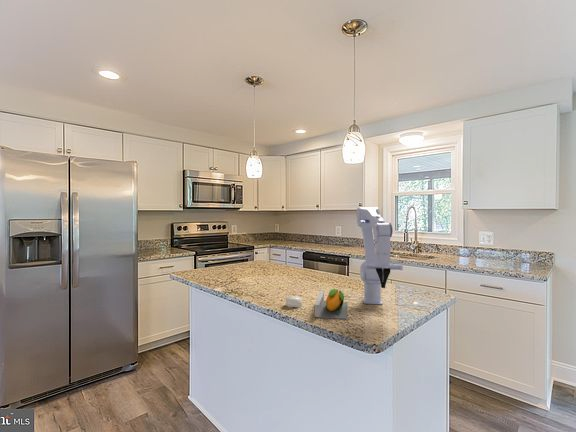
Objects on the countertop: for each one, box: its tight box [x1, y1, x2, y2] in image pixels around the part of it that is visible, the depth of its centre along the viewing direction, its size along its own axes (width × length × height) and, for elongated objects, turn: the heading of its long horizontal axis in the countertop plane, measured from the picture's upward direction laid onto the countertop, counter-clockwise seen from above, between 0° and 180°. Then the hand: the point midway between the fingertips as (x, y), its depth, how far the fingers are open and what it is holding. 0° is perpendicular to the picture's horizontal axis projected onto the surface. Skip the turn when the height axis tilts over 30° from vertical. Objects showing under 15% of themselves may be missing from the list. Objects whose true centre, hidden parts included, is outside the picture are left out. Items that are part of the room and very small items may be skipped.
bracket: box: [314, 290, 348, 321], centre depth 126 cm, size 22×12×5 cm, turn 168°
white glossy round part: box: [285, 295, 303, 308], centre depth 132 cm, size 7×7×4 cm
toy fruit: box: [325, 288, 345, 312], centre depth 125 cm, size 7×8×20 cm
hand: (383, 287), depth 120 cm, fingers closed
